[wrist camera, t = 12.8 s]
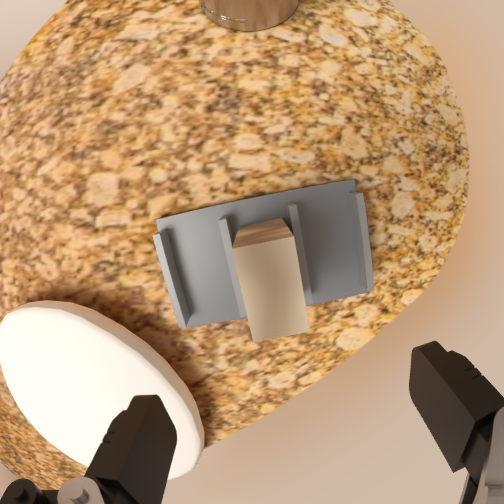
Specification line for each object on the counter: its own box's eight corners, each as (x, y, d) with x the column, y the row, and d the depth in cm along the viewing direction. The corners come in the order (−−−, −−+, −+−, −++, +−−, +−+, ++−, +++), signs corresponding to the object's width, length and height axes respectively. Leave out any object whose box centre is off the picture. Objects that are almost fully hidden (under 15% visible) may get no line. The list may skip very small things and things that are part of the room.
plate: (236, 487, 28) (74, 480, 31) (237, 448, 35) (86, 451, 37) (111, 294, 19) (-44, 336, 22) (139, 260, 26) (-16, 311, 28)
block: (281, 218, 25) (293, 236, 17) (294, 287, 26) (309, 331, 18) (239, 226, 25) (231, 248, 17) (254, 295, 26) (253, 342, 18)
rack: (351, 179, 25) (362, 179, 22) (365, 288, 27) (376, 300, 24) (159, 218, 26) (147, 223, 23) (188, 322, 28) (181, 337, 25)
